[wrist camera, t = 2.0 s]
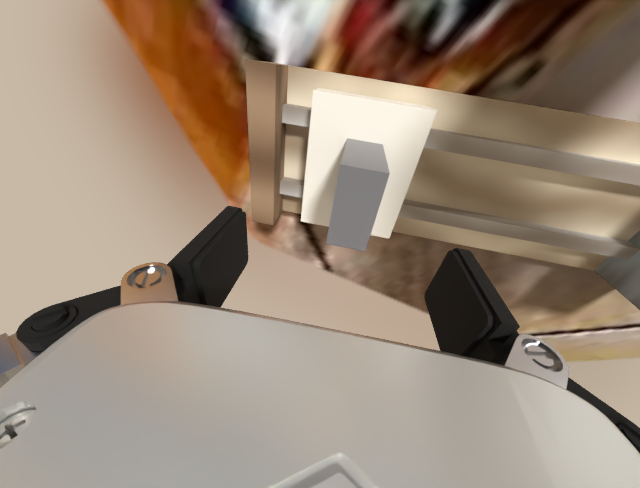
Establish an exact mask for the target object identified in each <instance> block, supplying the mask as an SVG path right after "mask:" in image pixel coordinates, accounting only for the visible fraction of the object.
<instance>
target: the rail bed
mask: <svg viewBox="0 0 640 488" xmlns="http://www.w3.org/2000/svg"><path fill="white" fill-rule="evenodd" d="M245 68H246V90H247V112H248V133H249V155H250V177H251V199H252V221H254V222H259V223H264V224H269V225H274V224H275V222H276V220H277V219H278V217H279V215H280V214H281V212H282V210H283V211H288V212H293V213H299V214H301V212H302V202H303V191H304V181H305V170H306V160H307V149H308V139H309V129H310V118H311V108H312V97H313V90H314V89H317V88H323V89H329V90H335V91H341V92H347V93H353V94H359V95H365V96H371V97H377V98H382V99H388V100H394V101H400V102H406V103H412V104H418V105H424V106H429V107H431V108H433V109H435V110H437V113H436V116H435V118H434V121H433V124H432V126H431V129H430V132H429V134H428V137H427V140H426V142H425V145H424V148H423V150H422V153H421V156H420V158H419V161H418V164H417V166H416V169H415V172H414V174H413V177H412V180H411V182H410V185H409V188H408V190H407V193H406V196H405V198H404V201H403V204H402V206H401V209H400V212H399V214H398V217H397V220H396V222H395V225H394V228H393V230H392V232H397V233H402V234H407V235H412V236H417V237H423V238H428V239H433V240H438V241H443V242H448V243H454V244H459V245H464V246H469V247H474V248H479V249H485V250H490V251H495V252H500V253H505V254H510V255H516V256H521V257H526V258H531V259H536V260H541V261H547V262H552V263H557V264H562V265H567V266H572V267H578V268H583V269H588V270H593V271H595V272H596V273H598V274H599V275H600V276H601V277H602V278H603V279H604V280H606V281H607V282H608V283H609V284H610V285H611V286H613V287H614V288H615V289H616V290H617V291H618V292H620V293H621V294H622V295H623V296H624V297H625V298H626V299H628V300H629V301H630V302H631V303H632V304H633V305H635V306H636V307H637V308H638V309H639V310H640V123H637V122H631V121H625V120H619V119H612V118H606V117H600V116H594V115H588V114H582V113H576V112H570V111H564V110H558V109H552V108H545V107H539V106H533V105H527V104H521V103H515V102H509V101H503V100H497V99H491V98H485V97H478V96H472V95H466V94H460V93H454V92H448V91H442V90H436V89H430V88H424V87H418V86H411V85H405V84H399V83H393V82H387V81H381V80H375V79H369V78H363V77H357V76H351V75H345V74H338V73H332V72H326V71H320V70H314V69H308V68H302V67H296V66H290V65H284V64H278V63H271V62H264V61H255V60H246V59H245Z"/></svg>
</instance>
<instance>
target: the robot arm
mask: <svg viewBox="0 0 640 488" xmlns="http://www.w3.org/2000/svg"><path fill="white" fill-rule="evenodd" d="M247 262H248V245H247V226H246V213H245V212H242V209H241V208H237V207H232V206H227V207H226V208H225V209H224V210H223V211H222V212H221V213H220V214H219V215H218V216H217V217H216V218H215V219H214V220H213V221H212V222H211V223H210V224H208V225H207V226H206V227H205V228H204V229H203V230H202V231H201V232H200V233H199V234H198V235H197V236H196V237H195V238H194V239H193V240H192V241H191V242H190V243H189V244H188V245H187V246H186V247H185V248H183V249H182V250H181V251H180V252H179V253H178V254H177V255H176V256H175V257H174V258H173V259H172V260H171V261H170V262H169V263H168V264H167V265H166V264H163V263H155V262H154V263H146V264H143V265H140V266H137V267H135V268H133V269H131V270H130V271H128V272H127V273H126V274H125V275H124V276H123V278H122V281H121V286H117V287H114V288H110V289H107V290H104V291H100V292H96V293H93V294H90V295H86V296H83V297H79V298H76V299H73V300H69V301H66V302H62V303H59V304H55V305H52V306H49V307H47V308H44V309H42V310H40V311H38V312H36V313H34V314H33V315H31V316H30V317H29V318H27V319H26V320H25V321H24V322H23V323H22V324H21V325H20V326H19V328H18V330H17V332H16V333H15V334H13V335H11V336H8V335H7V334H6V333H4V334H2V335H0V488H640V428H639V427H638V426H637V425H635V424H634V423H632V422H631V421H630V420H628V419H627V418H625V417H624V416H622V415H621V414H620V413H618V412H617V411H616V410H614V409H613V408H611V407H610V406H608V405H607V404H606V403H604V402H603V401H601V400H600V399H598V398H597V397H596V396H594V395H593V394H591V393H590V392H589V391H587V390H586V389H584V388H583V387H581V386H580V385H579V384H577V383H576V382H574V381H573V380H571V379H570V378H569V377H568V376H569V367H568V365H567V363H566V361H565V359H564V358H563V357H562V356H561V354H560V353H559V352H558V351H557V350H555V349H554V348H553V347H552V346H551V345H549V344H548V343H546V342H545V341H543V340H541V339H539V338H537V337H534V336H531V335H526V334H523V335H519V334H518V332H517V331H516V330H517V329H518V328H519V327H520V326H519V325H518V323H517V321H516V320H515V318H514V317H513V315H512V314H511V312H510V311H509V309H508V308H507V306H506V305H505V303H504V302H503V300H502V299H501V297H500V295H499V294H498V292H497V291H496V289H495V288H494V286H493V285H492V283H491V282H490V280H489V279H488V277H487V276H486V274H485V273H484V271H483V269H482V268H481V266H480V265H479V263H478V262H477V260H476V259H475V257H474V256H473V254H472V253H471V252H470V251H469V250H464V249H458V248H455V249H453V250H452V251H449V252H448V253H447V255H446V257H445V258H444V260H443V262H442V264H441V266H440V267H439V269H438V271H437V273H436V274H435V276H434V278H433V280H432V282H431V283H430V285H429V287H428V289H427V290H426V293H425V301H426V305H427V308H428V311H429V314H430V318H431V321H432V324H433V327H434V331H435V334H436V338H437V341H438V344H439V347H440V350H441V351H437V350H432V349H427V348H423V347H418V346H413V345H408V344H403V343H398V342H393V341H389V340H383V339H379V338H373V337H369V336H363V335H359V334H353V333H349V332H344V331H339V330H334V329H329V328H323V327H319V326H314V325H308V324H304V323H299V322H293V321H288V320H283V319H278V318H273V317H267V316H262V315H257V314H252V313H247V312H242V311H236V310H230V309H225V308H220V307H221V306H222V304H223V302H224V301H225V299H226V297H227V296H228V294H229V293H230V291H231V289H232V288H233V286H234V284H235V282H236V281H237V279H238V278H239V276H240V274H241V273H242V271H243V270H244V268H245V266H246V264H247Z"/></svg>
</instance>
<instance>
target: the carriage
mask: <svg viewBox="0 0 640 488" xmlns="http://www.w3.org/2000/svg"><path fill="white" fill-rule="evenodd" d="M436 113H437V110H435V109H433V108H431V107H429V106H424V105H418V104H412V103H406V102H400V101H394V100H388V99H382V98H377V97H371V96H365V95H359V94H353V93H347V92H341V91H335V90H329V89H323V88H317V89H314V90H313V97H312V108H311V118H310V129H309V139H308V149H307V160H306V170H305V181H304V191H303V202H302V212H301V222H306V223H312V224H317V225H322V226H327V227H329V229H328V235H327V240H326V244H330V245H335V246H340V247H345V248H350V249H355V250H360V251H366V248H367V245H368V241H369V238H370V235H373V236H378V237H383V238H388V239H389V238H390V236H391V233H392V230H393V228H394V225H395V222H396V220H397V217H398V214H399V212H400V209H401V206H402V204H403V201H404V198H405V196H406V193H407V190H408V188H409V185H410V182H411V180H412V177H413V174H414V172H415V169H416V166H417V164H418V161H419V158H420V156H421V153H422V150H423V148H424V145H425V142H426V140H427V137H428V134H429V132H430V129H431V126H432V124H433V121H434V118H435V116H436Z"/></svg>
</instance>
